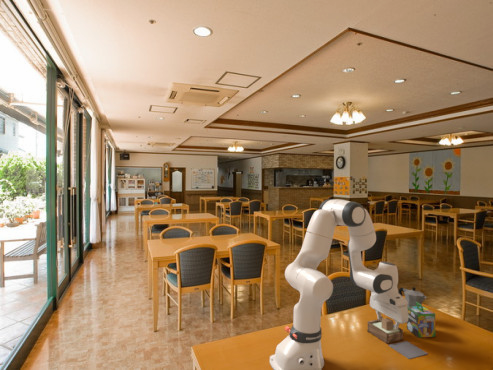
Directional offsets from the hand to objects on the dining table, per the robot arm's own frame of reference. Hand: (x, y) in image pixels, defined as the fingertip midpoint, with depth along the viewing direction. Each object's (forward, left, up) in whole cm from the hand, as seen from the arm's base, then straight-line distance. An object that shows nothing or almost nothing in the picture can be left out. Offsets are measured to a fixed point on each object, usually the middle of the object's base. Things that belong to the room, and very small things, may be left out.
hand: (387, 324), depth 142 cm
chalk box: (+19, -3, -7) cm, 20 cm away
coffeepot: (+27, +9, -6) cm, 29 cm away
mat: (0, -12, -6) cm, 13 cm away
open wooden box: (0, +1, -6) cm, 6 cm away
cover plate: (0, +1, -3) cm, 3 cm away
